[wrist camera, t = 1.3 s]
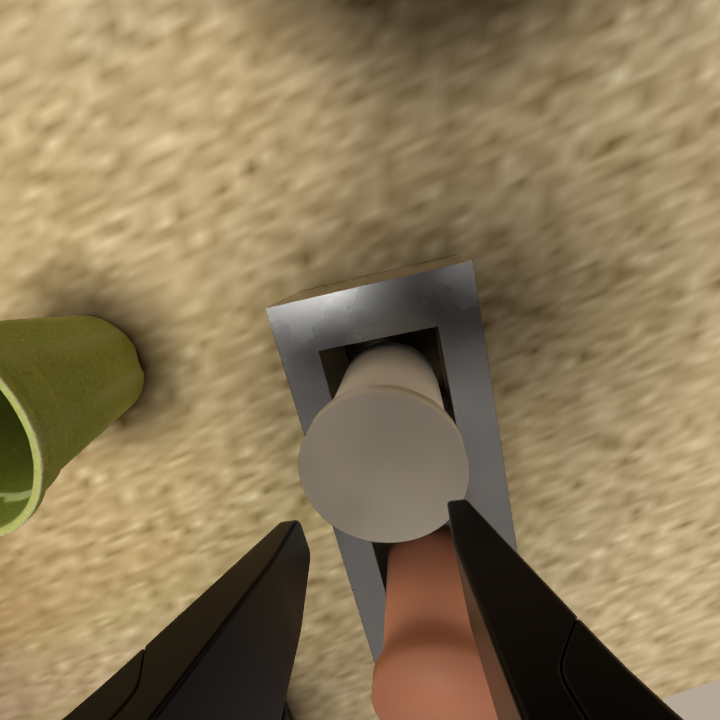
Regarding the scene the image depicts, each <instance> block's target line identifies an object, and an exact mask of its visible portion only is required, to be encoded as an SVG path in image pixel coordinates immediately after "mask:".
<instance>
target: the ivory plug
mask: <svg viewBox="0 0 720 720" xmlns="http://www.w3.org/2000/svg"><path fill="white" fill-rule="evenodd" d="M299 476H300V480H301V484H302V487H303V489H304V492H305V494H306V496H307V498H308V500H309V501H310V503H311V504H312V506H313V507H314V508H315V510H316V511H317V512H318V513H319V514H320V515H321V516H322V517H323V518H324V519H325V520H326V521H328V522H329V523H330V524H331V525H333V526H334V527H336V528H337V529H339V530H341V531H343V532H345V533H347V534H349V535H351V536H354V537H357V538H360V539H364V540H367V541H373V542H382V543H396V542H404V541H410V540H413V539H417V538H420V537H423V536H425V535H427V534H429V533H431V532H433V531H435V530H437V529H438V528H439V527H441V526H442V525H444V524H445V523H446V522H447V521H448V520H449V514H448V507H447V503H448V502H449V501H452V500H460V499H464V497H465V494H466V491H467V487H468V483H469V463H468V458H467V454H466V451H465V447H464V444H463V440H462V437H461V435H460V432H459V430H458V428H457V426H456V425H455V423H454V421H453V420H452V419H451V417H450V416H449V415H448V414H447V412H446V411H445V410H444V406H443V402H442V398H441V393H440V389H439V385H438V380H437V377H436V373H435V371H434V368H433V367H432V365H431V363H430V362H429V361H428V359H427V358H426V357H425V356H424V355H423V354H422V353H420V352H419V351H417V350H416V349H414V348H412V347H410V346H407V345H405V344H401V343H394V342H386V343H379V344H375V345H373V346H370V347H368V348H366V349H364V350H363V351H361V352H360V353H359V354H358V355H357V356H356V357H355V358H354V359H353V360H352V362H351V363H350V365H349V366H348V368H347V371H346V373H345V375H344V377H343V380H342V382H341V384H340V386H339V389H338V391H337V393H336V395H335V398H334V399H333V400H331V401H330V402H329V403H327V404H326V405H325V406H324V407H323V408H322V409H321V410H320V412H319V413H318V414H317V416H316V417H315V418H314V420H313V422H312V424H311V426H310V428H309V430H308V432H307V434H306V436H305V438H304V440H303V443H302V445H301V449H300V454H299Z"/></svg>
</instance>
